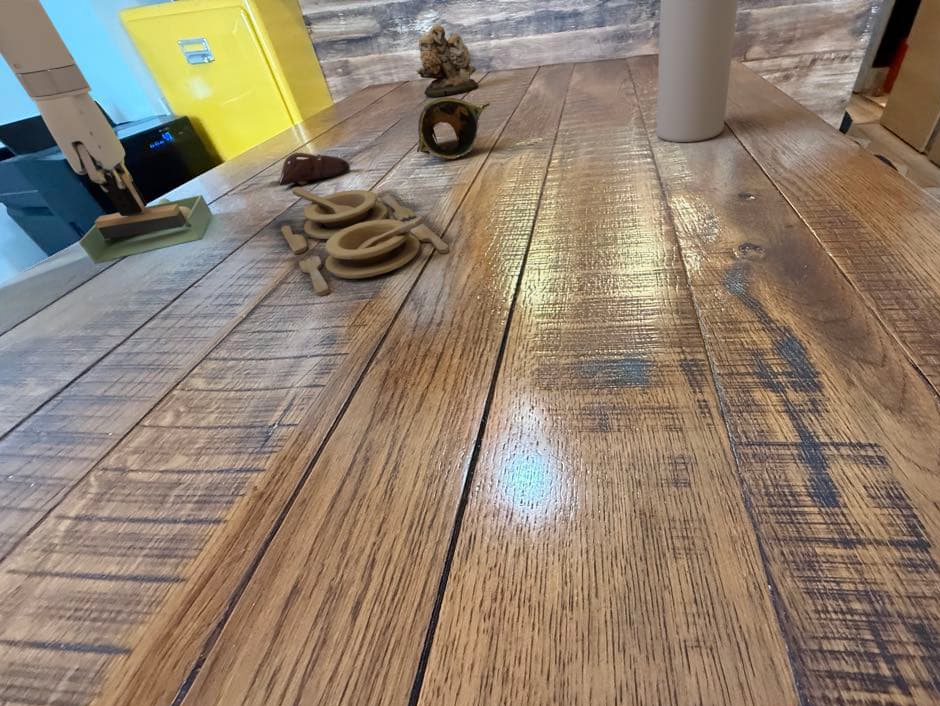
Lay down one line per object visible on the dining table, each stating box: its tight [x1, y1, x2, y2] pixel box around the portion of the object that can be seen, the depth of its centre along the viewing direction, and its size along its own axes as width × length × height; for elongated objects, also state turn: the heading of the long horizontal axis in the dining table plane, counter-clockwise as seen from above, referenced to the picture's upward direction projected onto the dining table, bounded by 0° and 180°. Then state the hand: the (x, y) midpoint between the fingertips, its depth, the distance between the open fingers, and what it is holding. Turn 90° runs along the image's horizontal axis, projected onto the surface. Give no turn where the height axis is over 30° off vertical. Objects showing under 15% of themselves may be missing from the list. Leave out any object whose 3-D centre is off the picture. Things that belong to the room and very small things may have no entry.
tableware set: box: [280, 186, 450, 297], centre depth 76 cm, size 30×20×6 cm, turn 30°
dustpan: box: [78, 194, 213, 264], centre depth 91 cm, size 19×17×4 cm
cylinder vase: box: [655, 0, 739, 143], centre depth 91 cm, size 12×12×25 cm
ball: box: [179, 206, 191, 225], centre depth 91 cm, size 3×3×3 cm
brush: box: [94, 173, 186, 241], centre depth 85 cm, size 12×3×9 cm, turn 109°
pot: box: [416, 96, 491, 160], centre depth 106 cm, size 17×11×18 cm
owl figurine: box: [416, 24, 479, 98], centre depth 153 cm, size 18×12×17 cm, turn 115°
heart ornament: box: [279, 151, 351, 187], centre depth 104 cm, size 6×12×11 cm
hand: (134, 210), depth 86 cm, fingers closed on brush, 2 cm apart
